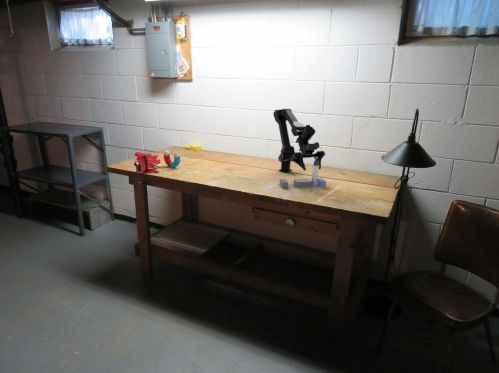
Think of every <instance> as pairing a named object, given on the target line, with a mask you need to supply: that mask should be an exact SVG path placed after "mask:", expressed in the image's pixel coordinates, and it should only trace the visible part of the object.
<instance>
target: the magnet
mask: <svg viewBox="0 0 499 373" xmlns="http://www.w3.org/2000/svg"><path fill="white" fill-rule="evenodd" d="M170 155H171V151H169V150H168V149H167V150H164V152H163V159H164V162H165V165H167V167H169V168H176V167H179V165H180V163H181V154H180V151H179V152H176V153H173V154H172V155H173V161H172V159H171V156H170Z"/></svg>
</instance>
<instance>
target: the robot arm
mask: <svg viewBox="0 0 499 373" xmlns="http://www.w3.org/2000/svg"><path fill="white" fill-rule="evenodd" d="M273 117H274V121H275V122H276V123H277V124H278V128H279V129H278V130H279V135H280V140H281V141H280V142H281V149H280V154H279V155H278V157H277V160H278V161H279V163H280V168H279V169H278V171H279V172H285V173H289V172H292V171H293V169H291V162H292V163H294V164H296V165H298V166H299V167H300V168H301V169H302V170H303V171H304V172H305V171H306V170H307V168H306V165H305V162H304V159H310V158H313V159H314V161H319V170H321V169H322V160H323V158H324V157H325V156H326V152H325V151H324V150H318V149H319V148H320V143H319V142H313V143H310V140H312V138H313V136H314V135H315V133H316V130H315V128H314V127H312V126H311V125H310V124H306V125H304V124H303V123H302V122H299V120H298V119H297V117H296V115H295V114H294V113H293V111H292V109H291V108H287V107H286V108H281V109H275V110H274V111H273ZM287 122H288V124H289V126H290V127H291V129H290V130H291V131H290V132H291V134H292V135H293V136H294V137H296V140H295V143H296V144H298V147H299V149H298V151H299V152H296V151H295V147H294V146H293V145H291V141H290V137H289V136H290V135H289V130H288V125H287ZM315 151H316V152H315Z"/></svg>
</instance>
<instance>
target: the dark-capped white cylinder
mask: <svg viewBox="0 0 499 373" xmlns="http://www.w3.org/2000/svg"><path fill="white" fill-rule="evenodd" d="M319 170H320V169H319V161H315V160H314V161H313V165H312V172H311V180H310V181H312V185H313V186H317V180H318V178H319Z"/></svg>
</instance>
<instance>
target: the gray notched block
mask: <svg viewBox="0 0 499 373" xmlns="http://www.w3.org/2000/svg"><path fill="white" fill-rule="evenodd" d="M278 184H279V186H280V187H281V188H282V189H298V188H299V189H302V188H325V187H327V186H326V185H327V180H325V179H324V178H323V177H318V180H317V186H313V185H312V181H311V180H310V179H309V178H293V183H292V184H291V183H289V181H288V180H287V179H286V178H281V179H279V183H278Z"/></svg>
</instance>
